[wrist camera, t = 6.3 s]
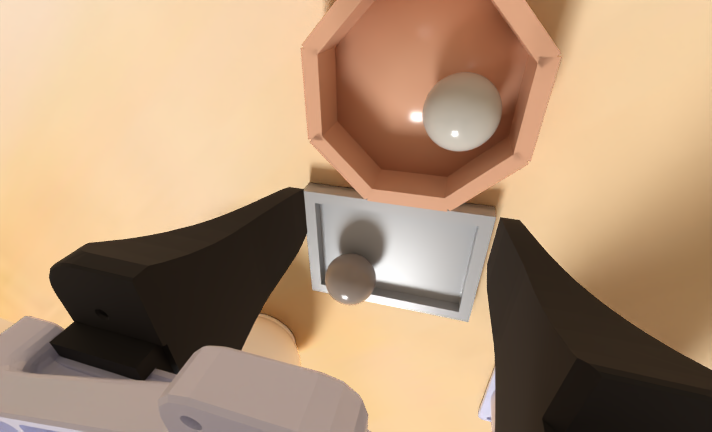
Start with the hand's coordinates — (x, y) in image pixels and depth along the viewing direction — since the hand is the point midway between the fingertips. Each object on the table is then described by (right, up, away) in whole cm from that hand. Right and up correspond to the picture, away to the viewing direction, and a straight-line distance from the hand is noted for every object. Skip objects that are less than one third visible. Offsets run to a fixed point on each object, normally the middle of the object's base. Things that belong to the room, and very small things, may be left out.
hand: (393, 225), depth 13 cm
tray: (+1, -2, +12) cm, 12 cm away
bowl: (+2, +7, +6) cm, 9 cm away
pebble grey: (+3, +6, +5) cm, 8 cm away
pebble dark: (-1, -3, +13) cm, 13 cm away
